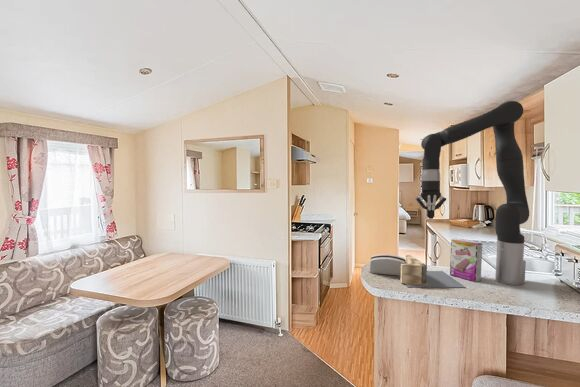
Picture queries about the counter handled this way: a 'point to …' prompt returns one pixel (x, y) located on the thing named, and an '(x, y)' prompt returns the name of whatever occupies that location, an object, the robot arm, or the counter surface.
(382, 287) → the counter surface
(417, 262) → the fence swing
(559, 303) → the counter surface
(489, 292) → the counter surface
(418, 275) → the fence fixed
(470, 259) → the candy bar box
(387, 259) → the white plastic device
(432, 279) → the mat
